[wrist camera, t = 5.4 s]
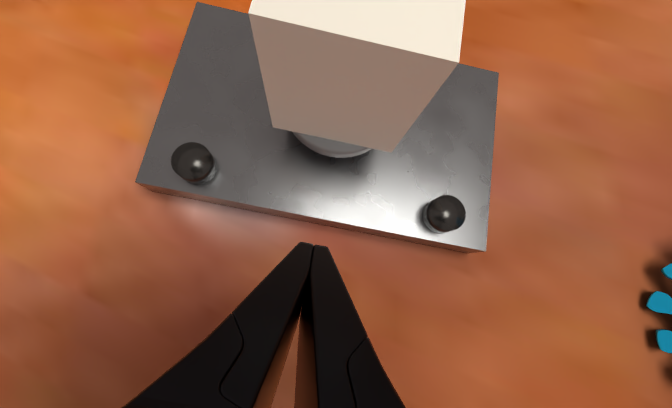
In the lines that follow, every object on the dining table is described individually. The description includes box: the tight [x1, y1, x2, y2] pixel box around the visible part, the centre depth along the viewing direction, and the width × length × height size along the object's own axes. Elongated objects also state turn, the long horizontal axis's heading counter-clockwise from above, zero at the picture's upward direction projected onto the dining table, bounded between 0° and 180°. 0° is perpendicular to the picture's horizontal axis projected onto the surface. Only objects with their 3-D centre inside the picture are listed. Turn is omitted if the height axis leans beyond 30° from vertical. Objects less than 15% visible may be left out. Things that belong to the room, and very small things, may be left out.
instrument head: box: [248, 0, 466, 158], centre depth 13 cm, size 10×6×9 cm, turn 170°
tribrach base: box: [135, 2, 499, 253], centre depth 19 cm, size 12×20×3 cm, turn 80°
